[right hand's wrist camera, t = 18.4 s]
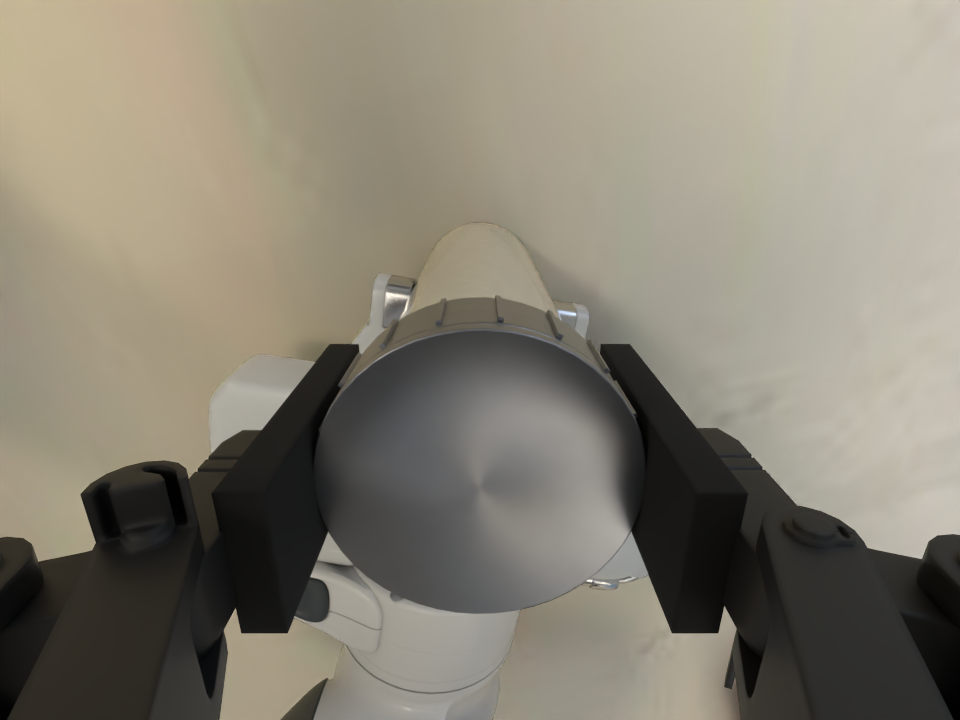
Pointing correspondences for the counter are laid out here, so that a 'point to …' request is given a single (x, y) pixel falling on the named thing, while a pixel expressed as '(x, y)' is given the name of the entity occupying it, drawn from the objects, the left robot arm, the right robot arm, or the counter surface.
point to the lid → (479, 458)
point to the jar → (479, 270)
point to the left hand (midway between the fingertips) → (482, 291)
